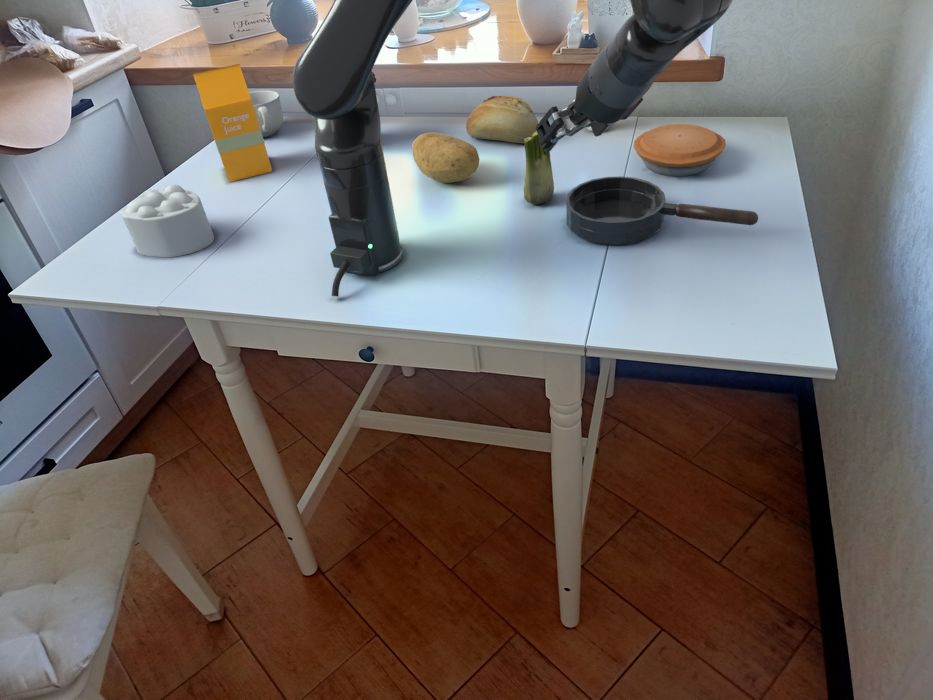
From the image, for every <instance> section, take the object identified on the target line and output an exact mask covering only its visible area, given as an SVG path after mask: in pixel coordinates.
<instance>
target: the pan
mask: <svg viewBox="0 0 933 700" xmlns="http://www.w3.org/2000/svg"><path fill="white" fill-rule="evenodd" d="M665 203H667V199H666V194H665V192H664V191H663V190H662V189H661V188H660V187H659V186H658V185H657V184H655V183H652V182H650V181H649V180H645V179H641V178H638V177H630V176H622V175H621V176H620V175H619V176H604V177H598V178H594V179H590V180H587V181H584V182H582V183H580V184H578V185H576V186H575V187H573V188H572V189H570V191H569V193H568V194H567V195H566V199H565V207H566V208H565V210H566V215H565V216H566V226H567V227H568V229H569V230H570V232H571V233H573V234H575V235H576V236H577V237H579V238H580V239H582V240H584V241H587V242H590V243H593V244H596V245H597V244H598V245H605V246H622V245H623V246H624V245H631V244H634V243H638V242H642V241H644V240H647V239H648V238H649V237H650V238H651V236H653V235H655V234H656V233H657V232H658V231H660V230H661V228H662V227H663V224H664V222H665V216H666V215H664V214H662V212H663V206H664V204H665Z"/></svg>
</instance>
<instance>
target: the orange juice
mask: <svg viewBox="0 0 933 700" xmlns="http://www.w3.org/2000/svg"><path fill="white" fill-rule="evenodd" d="M192 75H193V79H194V82H195V85H196V87H197V91H198V93H199V96H200V100H201V104H202V106H203V109H204V112H205V116H206V118H207V121H208V124H209V128H210V130H211V133H212V137H213V139H214V142H215V146H216V148H217V152H218V154H219V156H220V159H221V163H222V165H223V168H224V169H223V170H224V172H225V175H226V177H227V180H228V183H232V182H237V181H240V180H244V179H249V178H253V177H256V176H260V175H263V174H267V173H271V172H273V167H272V164H271V161H270V157H269V154H268V150H267V147H266V145H265V140H264V137H263V136H262V133H261V130H260V127H259V124H258V120H257V117H256V113H255V110H254V107H253V103H252V100H251V97H250V94H249V92H250V91H249V88H248V85H247V83H246V80H245V77H244V74H243V71H242V67H241V63H237V64H232V65H228V66H223V67H219V68H214V69H210V70H205V71H200V72H196V73H192Z"/></svg>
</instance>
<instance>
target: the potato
mask: <svg viewBox="0 0 933 700" xmlns="http://www.w3.org/2000/svg"><path fill="white" fill-rule="evenodd" d="M411 151H412V156H413V161H414V163H415V164H416V166H417V167H418V168H419V170H420V172H421V173H422V174H423V175H424V176H426V177H428V178H430V179H431V180H434V181H437V182H440V183H441V184H449V183H451V184H452V183H456V182H461V181H465V180H467V179H469V178H470V177H471V176H472V175H473V174H475V173H476V172H477V170H478V169H479V167H480V161H481V160H480V159H481V158H480V156H479V155H480V154H479V152H478V150H477V148H476V147H475V146H474V145H473V144H471V143H469V142H467V141H465V140H463V139H461V138H459V137H455V136H453V135H448V134H444V133H441V132H434V131H432V132H425V133H421V134H419V135H418V136H417V137H416V138H415V139H414V140H413V142H412V147H411Z"/></svg>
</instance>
